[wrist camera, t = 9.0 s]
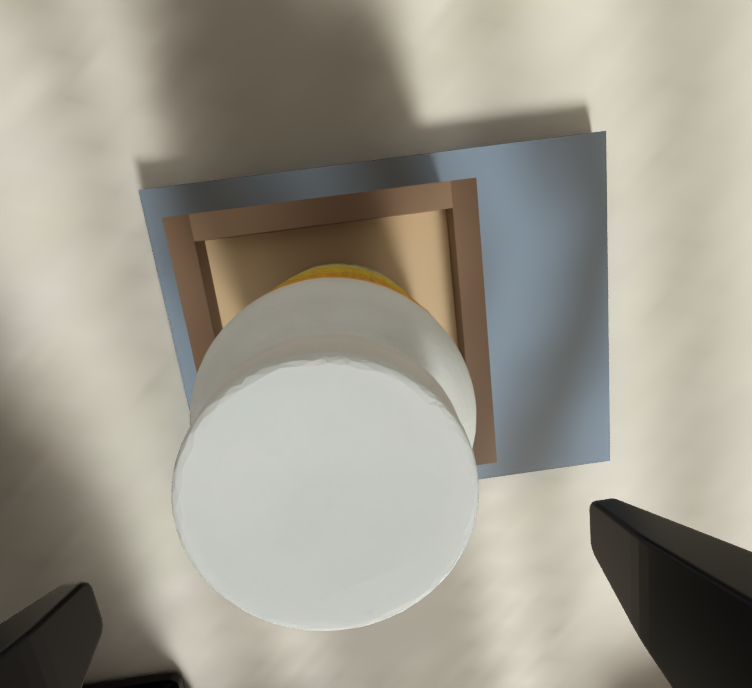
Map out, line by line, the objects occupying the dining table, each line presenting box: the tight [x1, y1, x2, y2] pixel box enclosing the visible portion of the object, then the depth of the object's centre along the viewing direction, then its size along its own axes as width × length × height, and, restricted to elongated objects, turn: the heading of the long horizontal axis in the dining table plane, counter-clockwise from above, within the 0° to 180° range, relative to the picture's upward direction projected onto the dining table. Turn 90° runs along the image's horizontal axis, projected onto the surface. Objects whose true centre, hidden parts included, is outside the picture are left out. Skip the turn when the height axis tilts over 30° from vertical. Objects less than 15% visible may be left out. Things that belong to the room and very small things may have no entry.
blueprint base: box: [139, 131, 610, 479], centre depth 18 cm, size 18×14×6 cm
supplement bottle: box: [172, 263, 479, 631], centre depth 11 cm, size 5×5×10 cm
